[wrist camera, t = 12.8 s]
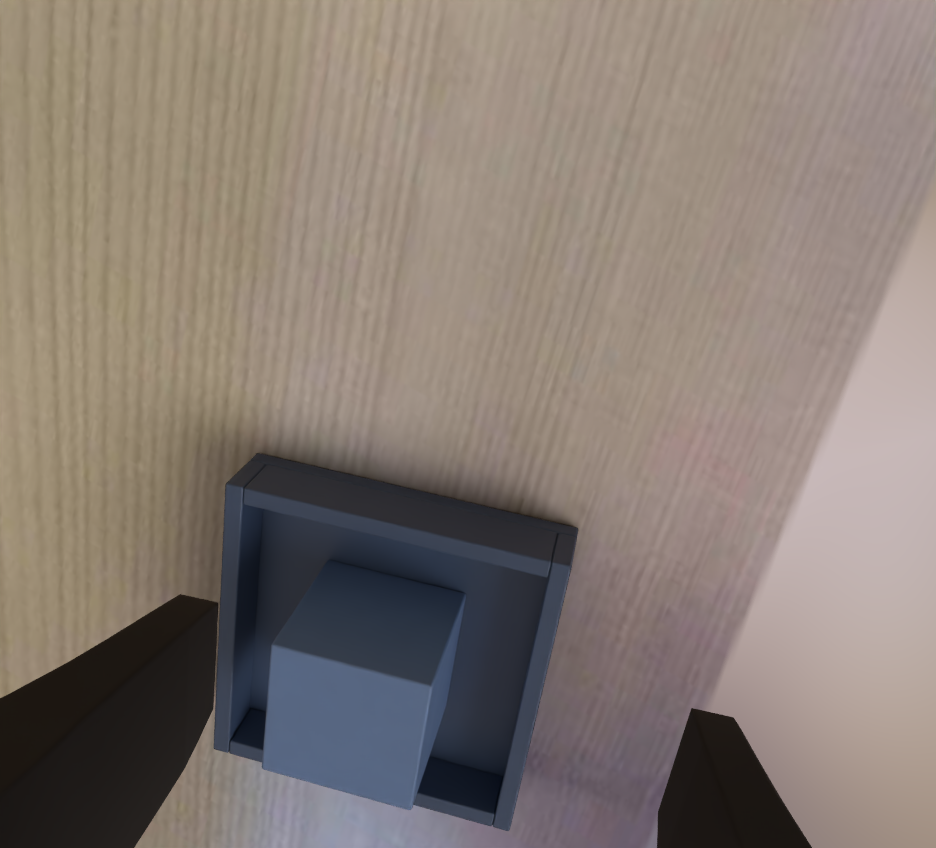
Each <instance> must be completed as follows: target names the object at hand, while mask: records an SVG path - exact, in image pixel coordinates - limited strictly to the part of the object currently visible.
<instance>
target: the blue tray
mask: <svg viewBox="0 0 936 848" xmlns="http://www.w3.org/2000/svg"><path fill="white" fill-rule="evenodd" d="M577 534H578V528H576V527H571V526H567V525H563V524H559V523H554V522H550V521H546V520H542V519H537V518H533V517H529V516H524V515H520V514H516V513H512V512H507V511H503V510H499V509H495V508H490V507H486V506H482V505H478V504H473V503H469V502H465V501H460V500H456V499H452V498H448V497H443V496H439V495H435V494H431V493H426V492H422V491H418V490H414V489H409V488H405V487H401V486H396V485H392V484H388V483H384V482H379V481H375V480H371V479H367V478H362V477H358V476H354V475H350V474H345V473H341V472H337V471H332V470H328V469H324V468H320V467H315V466H311V465H307V464H303V463H298V462H294V461H290V460H286V459H281V458H277V457H273V456H268V455H264V454H260V453H257V454H256V455H255V456H254V457H253V458H252V459H251V460H250V461H249V462H248V463H247V464H246V465H245V466H243V467H242V468H241V469H240V470H239V471H238V472H237V473H236V474H235V475H234V476H233V477H232V478H231V479H230V480H229V481H228V482H227V483H226V488H225V510H224V532H223V553H222V575H221V597H220V619H219V641H218V663H217V685H216V707H215V729H214V749H216V750H220V751H223V752H227V753H228V752H229V751H230V753H231V754H234V755H237V756H241V757H245V758H248V759H252V760H255V761H259V762H262V761H263V747H264V734H265V721H266V708H267V694H268V681H269V668H270V655H271V645H272V643H273V642H274V640H275V639H276V637H277V636H278V634H279V633H280V631H281V630H282V628H283V627H284V625H285V624H286V622H287V621H288V619H289V618H290V616H291V615H292V613H293V612H294V610H295V609H296V607H297V606H298V604H299V603H300V601H301V600H302V598H303V597H304V595H305V594H306V592H307V590H308V589H309V587H310V586H311V584H312V583H313V581H314V580H315V578H316V577H317V575H318V574H319V572H320V571H321V569H322V568H323V566H324V565H325V563H326V562H327V561H328V560H331V561H335V562H339V563H343V564H347V565H351V566H355V567H360V568H364V569H368V570H372V571H376V572H380V573H384V574H388V575H392V576H396V577H400V578H404V579H408V580H412V581H416V582H420V583H424V584H428V585H432V586H436V587H440V588H444V589H448V590H452V591H456V592H461V593H464V594H465V595H466V599H465V604H464V610H463V615H462V621H461V627H460V632H459V638H458V643H457V649H456V654H455V660H454V665H453V671H452V676H451V682H450V687H449V693H448V698H447V704H446V708H445V711H444V714H443V717H442V720H441V723H440V726H439V729H438V732H437V735H436V738H435V741H434V744H433V747H432V750H431V753H430V756H429V759H428V762H427V765H426V768H425V771H424V774H423V777H422V780H421V783H420V786H419V789H418V792H417V795H416V798H415V801H414V804H413V805H416V806H420V807H424V808H427V809H431V810H434V811H438V812H441V813H445V814H449V815H452V816H456V817H459V818H463V819H466V820H470V821H474V822H477V823H481V824H484V825H488V826H492V825H493V827H495V828H499V829H502V830H506V831H509V830H510V826H511V822H512V818H513V814H514V809H515V805H516V801H517V797H518V792H519V788H520V784H521V780H522V775H523V771H524V767H525V763H526V758H527V754H528V750H529V746H530V742H531V737H532V733H533V729H534V725H535V720H536V716H537V712H538V708H539V703H540V699H541V695H542V691H543V686H544V682H545V678H546V674H547V669H548V665H549V661H550V657H551V652H552V648H553V644H554V640H555V635H556V631H557V627H558V623H559V618H560V614H561V610H562V606H563V601H564V597H565V593H566V589H567V584H568V580H569V576H570V572H571V567H572V562H573V556H574V551H575V545H576V539H577Z"/></svg>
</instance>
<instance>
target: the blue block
mask: <svg viewBox="0 0 936 848" xmlns="http://www.w3.org/2000/svg"><path fill="white" fill-rule="evenodd" d="M465 599H466V595H465V594H464V593H461V592H456V591H452V590H448V589H444V588H440V587H436V586H432V585H428V584H424V583H420V582H416V581H412V580H408V579H404V578H400V577H396V576H392V575H388V574H384V573H380V572H376V571H372V570H368V569H364V568H360V567H355V566H351V565H347V564H343V563H339V562H335V561H331V560H328V561H327V562H326V563H325V565H324V566H323V568H322V569H321V571H320V572H319V574H318V575H317V577H316V578H315V580H314V581H313V583H312V584H311V586H310V587H309V589H308V590H307V592H306V594H305V595H304V597H303V598H302V600H301V601H300V603H299V604H298V606H297V607H296V609H295V610H294V612H293V613H292V615H291V616H290V618H289V619H288V621H287V622H286V624H285V625H284V627H283V628H282V630H281V631H280V633H279V634H278V636H277V637H276V639H275V640H274V642H273V643H272V645H271V655H270V668H269V681H268V694H267V708H266V721H265V734H264V747H263V761H262V768H263V769H264V770H268V771H271V772H275V773H278V774H282V775H286V776H289V777H293V778H296V779H300V780H303V781H307V782H311V783H314V784H318V785H321V786H325V787H328V788H332V789H336V790H339V791H343V792H346V793H350V794H353V795H357V796H360V797H364V798H368V799H371V800H375V801H378V802H382V803H385V804H389V805H393V806H396V807H400V808H403V809H407V810H411V809H412V807H413V804H414V801H415V798H416V795H417V792H418V789H419V786H420V783H421V780H422V777H423V774H424V771H425V768H426V765H427V762H428V759H429V756H430V753H431V750H432V747H433V744H434V741H435V738H436V735H437V732H438V729H439V726H440V723H441V720H442V717H443V714H444V711H445V708H446V704H447V698H448V693H449V687H450V682H451V676H452V671H453V665H454V660H455V654H456V649H457V643H458V638H459V632H460V627H461V621H462V615H463V610H464V604H465Z"/></svg>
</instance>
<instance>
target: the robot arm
mask: <svg viewBox="0 0 936 848" xmlns="http://www.w3.org/2000/svg"><path fill="white" fill-rule="evenodd" d="M217 621H218V603H217V602H213V601H208V600H204V599H199V598H195V597H190V596H186V595H181V594H180V595H178V596H177V597H175V598H173V599H172V600H170V601H168V602H167V603H165V604H163V605H162V606H160V607H158V608H157V609H155V610H154V611H152V612H150V613H149V614H147V615H145V616H144V617H142V618H141V619H139V620H137V621H136V622H134V623H132V624H131V625H129V626H128V627H126V628H124V629H123V630H121V631H119V632H118V633H116V634H115V635H113V636H111V637H110V638H108V639H106V640H105V641H103V642H101V643H100V644H98V645H96V646H95V647H93V648H91V649H90V650H88V651H86V652H85V653H83V654H81V655H80V656H78V657H76V658H74V659H73V660H71V661H69V662H68V663H66V664H64V665H62V666H60V667H59V668H57V669H55V670H53V671H51V672H49V673H47V674H46V675H44V676H42V677H40V678H38V679H36V680H34V681H32V682H31V683H29V684H27V685H25V686H23V687H21V688H19V689H18V690H16V691H14V692H12V693H10V694H8V695H6V696H4V697H2V698H0V848H134V847H135V845H136V844H137V842H138V841H139V839H140V838H141V836H142V835H143V833H144V832H145V830H146V828H147V827H148V825H149V824H150V822H151V821H152V819H153V818H154V816H155V814H156V813H157V811H158V810H159V808H160V807H161V805H162V803H163V802H164V800H165V799H166V797H167V796H168V794H169V792H170V791H171V789H172V788H173V786H174V785H175V783H176V781H177V780H178V778H179V777H180V775H181V773H182V772H183V770H184V768H185V767H186V764H187V762H188V760H189V758H190V756H191V754H192V752H193V750H194V748H195V746H196V744H197V742H198V740H199V738H200V736H201V734H202V731H203V729H204V727H205V725H206V723H207V721H208V719H209V716H210V714H211V712H212V710H213V702H214V682H215V661H216V641H217ZM657 848H812V847H811V845H810V844H809V842H808V841H807V839H806V837H805V836H804V835H803V833H802V831H801V830H800V828H799V827H798V825H797V824H796V822H795V820H794V819H793V817H792V815H791V814H790V812H789V811H788V809H787V807H786V806H785V804H784V803H783V801H782V799H781V798H780V796H779V794H778V793H777V791H776V789H775V788H774V786H773V784H772V783H771V781H770V779H769V778H768V776H767V774H766V772H765V771H764V769H763V767H762V765H761V764H760V762H759V760H758V758H757V757H756V755H755V753H754V751H753V750H752V748H751V746H750V744H749V743H748V741H747V739H746V737H745V736H744V734H743V732H742V730H741V729H740V727H739V725H738V724H737V722H736V721H735V719H734V718H733V717H729V716H724V715H719V714H715V713H711V712H706V711H702V710H697V709H693V708H691V712H690V715H689V718H688V721H687V724H686V727H685V730H684V733H683V736H682V739H681V743H680V746H679V749H678V752H677V755H676V758H675V761H674V764H673V767H672V770H671V774H670V777H669V780H668V783H667V786H666V789H665V792H664V795H663V798H662V802H661V805H660V808H659V811H658V838H657Z"/></svg>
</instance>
